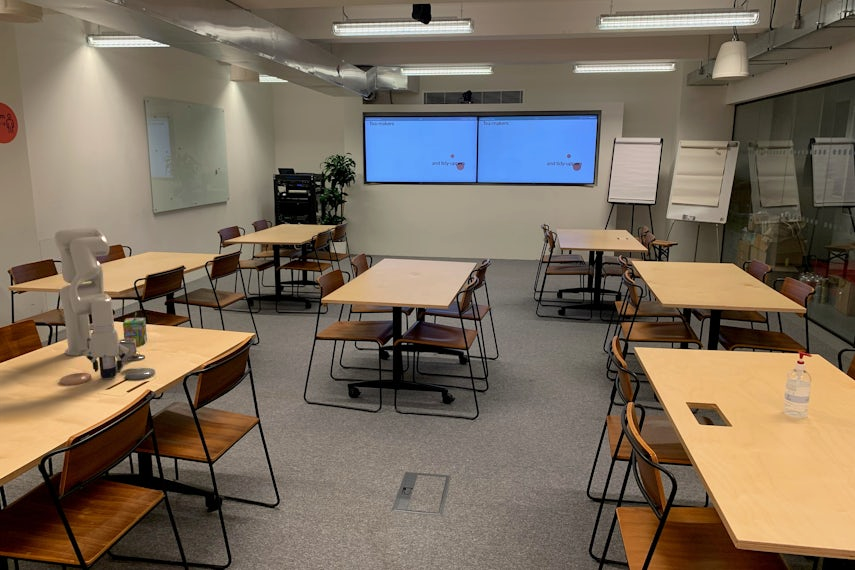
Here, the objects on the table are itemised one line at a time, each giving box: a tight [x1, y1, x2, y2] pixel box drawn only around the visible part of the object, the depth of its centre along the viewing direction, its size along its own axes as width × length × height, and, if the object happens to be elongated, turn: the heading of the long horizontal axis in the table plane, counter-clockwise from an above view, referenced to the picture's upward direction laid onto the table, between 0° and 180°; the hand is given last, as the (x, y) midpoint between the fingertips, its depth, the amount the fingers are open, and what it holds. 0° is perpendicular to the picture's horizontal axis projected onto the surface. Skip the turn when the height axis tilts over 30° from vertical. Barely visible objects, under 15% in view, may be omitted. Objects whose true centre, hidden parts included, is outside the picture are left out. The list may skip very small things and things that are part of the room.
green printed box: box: [122, 313, 148, 346], centre depth 297 cm, size 9×9×15 cm
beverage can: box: [98, 355, 117, 381], centre depth 251 cm, size 6×6×12 cm
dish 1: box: [59, 372, 93, 386], centre depth 249 cm, size 11×11×1 cm
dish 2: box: [125, 367, 156, 381], centre depth 255 cm, size 11×11×1 cm
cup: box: [119, 338, 138, 363], centre depth 273 cm, size 7×10×9 cm
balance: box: [78, 338, 146, 374], centre depth 260 cm, size 8×25×15 cm, turn 105°
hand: (108, 369), depth 251 cm, fingers open, 7 cm apart
